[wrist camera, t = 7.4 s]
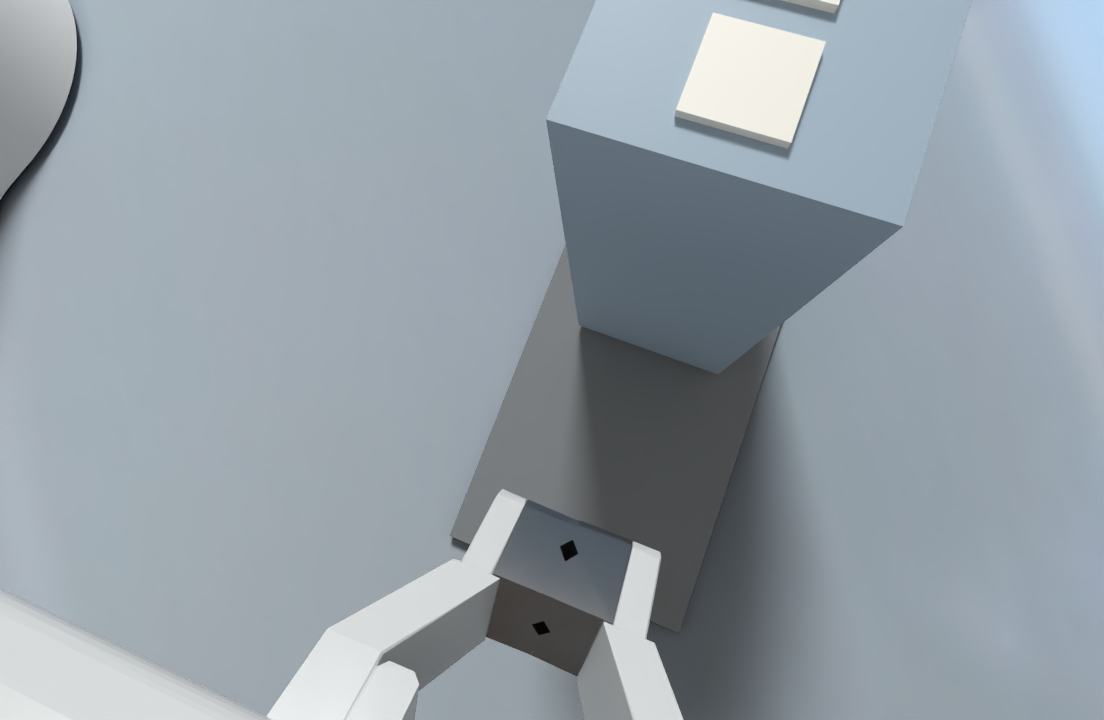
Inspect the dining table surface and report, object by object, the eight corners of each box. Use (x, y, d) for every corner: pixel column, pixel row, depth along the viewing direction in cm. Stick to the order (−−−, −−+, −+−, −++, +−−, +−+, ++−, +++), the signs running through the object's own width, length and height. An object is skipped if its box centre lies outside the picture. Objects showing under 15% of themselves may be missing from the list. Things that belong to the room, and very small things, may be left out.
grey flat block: (677, 630, 18) (678, 633, 18) (451, 534, 19) (449, 536, 19) (806, 241, 20) (809, 237, 20) (595, 175, 21) (595, 170, 21)
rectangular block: (722, 376, 19) (921, 225, 7) (578, 325, 20) (544, 113, 8) (767, 243, 20) (1017, -94, 8) (627, 199, 21) (663, -169, 9)
